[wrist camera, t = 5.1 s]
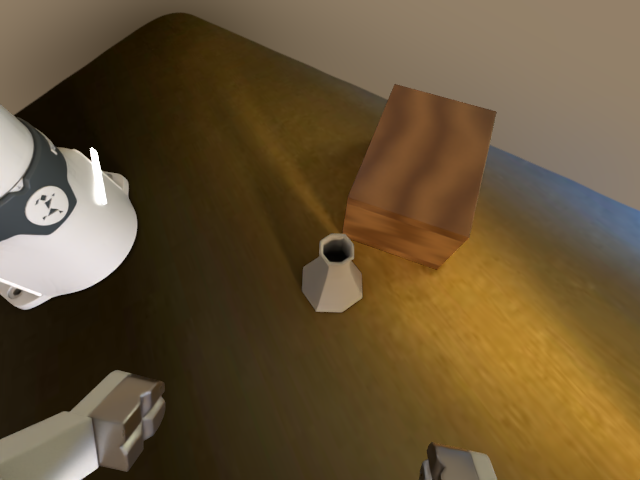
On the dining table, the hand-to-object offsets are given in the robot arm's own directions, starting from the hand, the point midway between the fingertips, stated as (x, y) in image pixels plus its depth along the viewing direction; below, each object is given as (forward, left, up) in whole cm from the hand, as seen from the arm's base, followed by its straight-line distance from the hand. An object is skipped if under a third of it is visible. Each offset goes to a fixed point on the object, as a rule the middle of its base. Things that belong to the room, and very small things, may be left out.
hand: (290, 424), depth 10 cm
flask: (-2, +12, -25) cm, 28 cm away
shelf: (+3, +27, -25) cm, 37 cm away
